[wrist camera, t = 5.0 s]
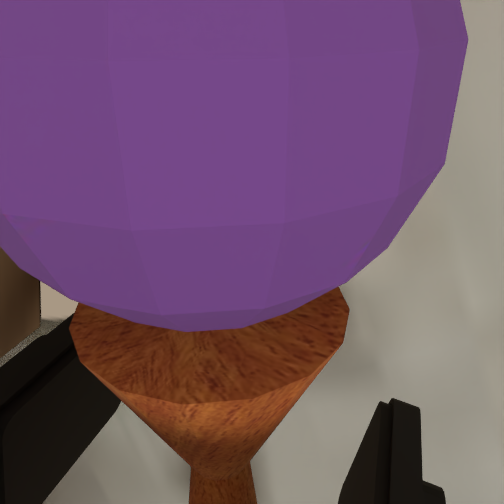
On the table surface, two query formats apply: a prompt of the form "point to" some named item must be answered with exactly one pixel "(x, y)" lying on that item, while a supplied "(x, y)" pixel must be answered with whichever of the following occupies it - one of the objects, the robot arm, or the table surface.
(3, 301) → the walnut block
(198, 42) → the kendama
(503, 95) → the table surface
